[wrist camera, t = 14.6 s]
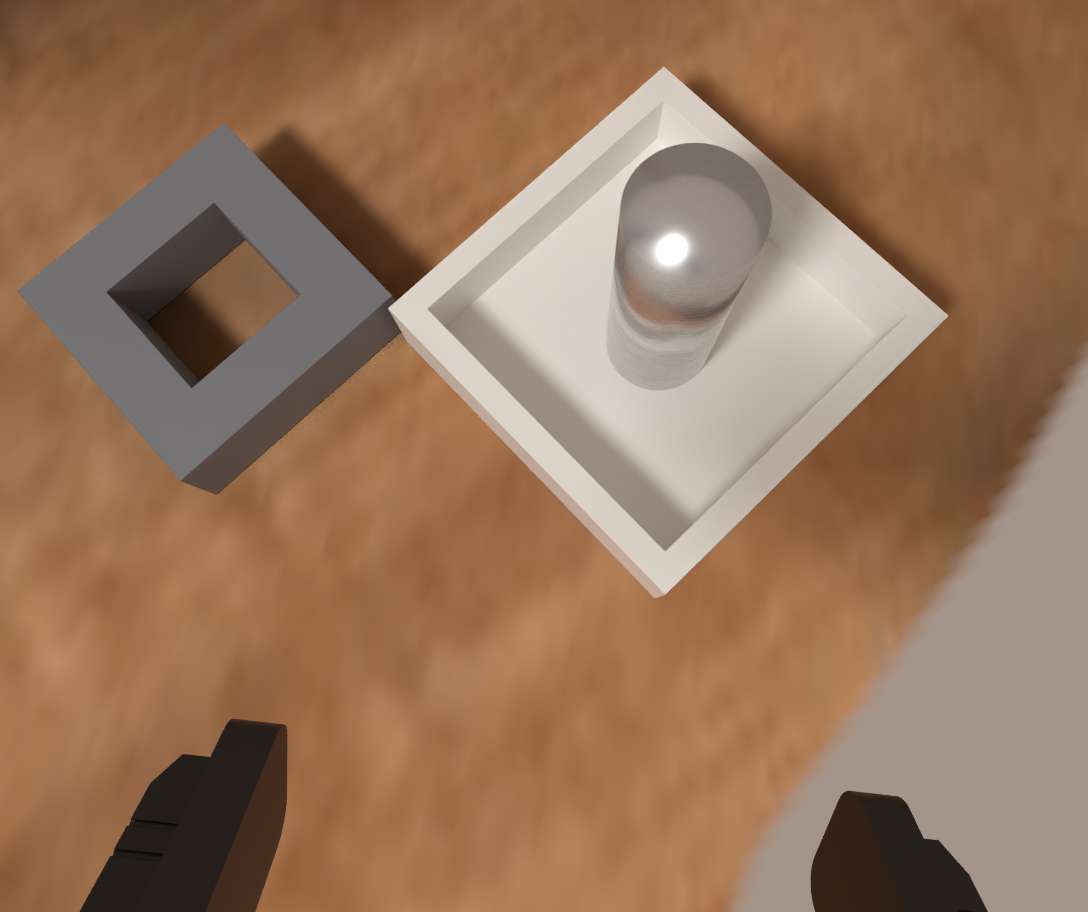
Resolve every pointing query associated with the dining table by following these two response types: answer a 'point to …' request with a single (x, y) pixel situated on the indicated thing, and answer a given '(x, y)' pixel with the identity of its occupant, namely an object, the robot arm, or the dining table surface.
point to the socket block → (178, 261)
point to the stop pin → (681, 260)
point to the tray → (659, 415)
